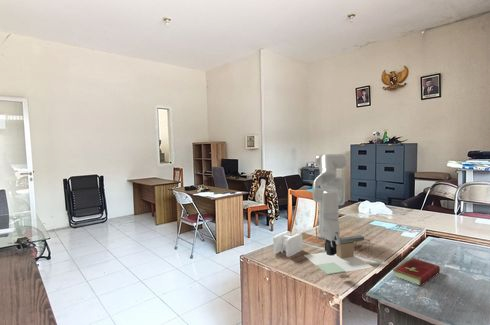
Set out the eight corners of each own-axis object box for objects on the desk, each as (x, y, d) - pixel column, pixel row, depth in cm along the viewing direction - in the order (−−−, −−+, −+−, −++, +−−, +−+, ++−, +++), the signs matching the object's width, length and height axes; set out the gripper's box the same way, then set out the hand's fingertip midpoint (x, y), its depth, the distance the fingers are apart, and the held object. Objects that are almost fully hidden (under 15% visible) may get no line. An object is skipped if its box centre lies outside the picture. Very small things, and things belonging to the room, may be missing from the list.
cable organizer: (287, 260, 149) (287, 239, 148) (272, 255, 156) (272, 235, 155) (302, 252, 159) (302, 233, 158) (288, 248, 167) (288, 229, 166)
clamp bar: (332, 242, 148) (332, 238, 148) (360, 238, 153) (360, 235, 153) (335, 244, 145) (335, 240, 145) (364, 240, 150) (364, 236, 150)
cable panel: (303, 257, 151) (303, 241, 151) (344, 252, 158) (344, 236, 157) (327, 277, 128) (327, 258, 128) (373, 270, 135) (373, 252, 134)
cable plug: (324, 252, 135) (324, 239, 135) (331, 252, 136) (331, 238, 136) (329, 256, 131) (329, 241, 131) (336, 255, 132) (336, 240, 132)
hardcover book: (439, 273, 131) (439, 265, 130) (420, 287, 119) (420, 278, 118) (412, 265, 140) (413, 257, 140) (392, 277, 128) (392, 268, 128)
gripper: (314, 212, 140) (315, 247, 141) (333, 220, 124) (333, 260, 125) (327, 211, 142) (328, 245, 143) (347, 219, 125) (347, 258, 126)
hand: (330, 252), depth 134 cm, fingers closed on cable plug, 4 cm apart
